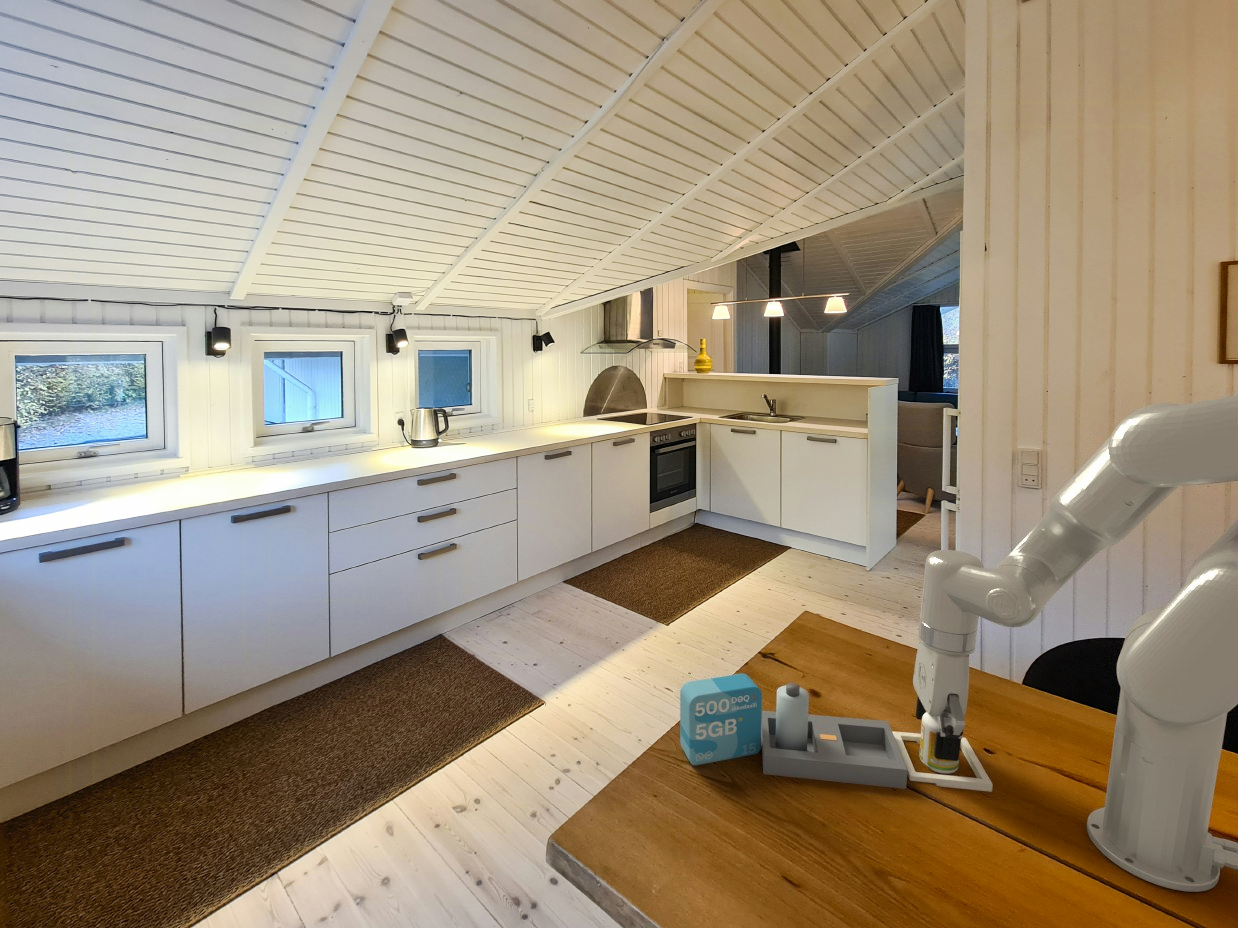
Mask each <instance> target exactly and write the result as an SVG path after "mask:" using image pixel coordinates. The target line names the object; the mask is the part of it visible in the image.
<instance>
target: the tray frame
mask: <svg viewBox="0 0 1238 928" xmlns="http://www.w3.org/2000/svg"><path fill="white" fill-rule="evenodd" d="M892 733H893V735H894V738H895V740H896V743H897V745H898V748H899V750H900V753H901V755H902V758H903V760H904V763H905V765H906V768H907V778H908V779H909V781H910V782H921V783H931V784H935V786H936V787H943V788H952V789H961V790H972V791H981V792H990V793H991V792H993V782H992V781H991V779H990V777H989V775H988V774H987V773H986V770H985V769H984V767H983V765H982V763H981V762H980V760H979V758H978V756H977V755H976V754H975V752H974V749H973V748H972V746H971V745H970V743H969V741H968V739H967V738H966V737H963V736H962V739H961V744H960V751H961V752H962V754H963V755H964V757H965V759H966V760H967V762H968V764H969V766H970V768H971V769H972V771H973V773H974V775H975V777H968V776H960V775H959V776H958V775H949V774H939V773H938V774H937V773H928V772H917V771H916V770H915V767H914V765H913V763H912V760H911V758H910V755H909V753H908V750H907V749H906V745H905V744H904V741H911V742H912V741H913V742H916V743H917V744H918V745H920V738H921V733H916V732H904V731H894V730H892Z"/></svg>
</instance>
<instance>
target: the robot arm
mask: <svg viewBox="0 0 1238 928" xmlns="http://www.w3.org/2000/svg"><path fill="white" fill-rule="evenodd" d="M1229 482H1238V394H1235V395H1231V396H1225V397H1220V398H1214V399H1208V400H1202V401H1201V400H1200V401H1197V402H1190V403H1184V404H1178V403H1173V402H1172V403H1170V402H1160V403H1159V402H1158V403H1153V404H1148V405H1146V406H1144V407H1141V408H1139V409H1136V410H1135V411H1134V412H1133V413H1130V414H1129V415H1127V416H1126V417H1125V418H1123V419H1122V420H1121V421H1120V422H1119V423H1118V424H1117V425H1116V426H1115V428H1114V430H1112V433H1111V435H1110V436H1109V437H1108V438H1107V439H1106V440H1105V442H1103V443H1102V445H1100V446H1099V448H1097V450H1096V451H1095V452H1094V453H1093V454H1092V455H1091V456H1090V458H1088V460H1086V462H1085V463H1084V464H1083V465H1082V466H1081V467H1080V469H1078V470H1077V471H1076V473H1074V475H1073V476H1072V477H1071V478H1070V479H1069V480H1068V481H1067V482H1066V483H1065V484H1064V485H1063V486H1062V487H1061V488H1060V489H1059V490H1058V491H1057V493H1056V494H1055V495H1054V496H1053V498H1052V499H1051V501H1050V502H1049V505H1048V508H1047V510H1046V512H1045V513H1044V515H1043V516H1042V518H1041V519H1040V520H1039V521H1038V522H1037V524H1036V525H1035V526H1034V527H1033V528H1032V529H1031V530H1030V532H1028V534H1026V536H1024V538H1023V539H1022V540H1020V542H1019V543H1017V545H1016V547H1014V549H1012V550H1011V551H1010V552H1009V554H1008V555H1007V556H1006V557H1004V558H1003V560H1001V561H1000V562H999V563H998V564H996V566H995V567H990V568H989V567H988V568H985V567H984V563H983V562H982V560H981V559H980V558H978V557H977V556H976V555H973V554H970V553H967V552H966V551H965V552H964V551H960V550H954V549H953V550H952V549H940V550H934V551H932V552H931V553H929V554H928V555H927V557H926V559H925V564H924V574H923V583H922V594H921V606H920V614H919V615H920V616H919V623H918V634H917V640H918V645H917V651H916V655H915V656H916V657H915V663H914V672H913V677H912V684H913V685H912V686H913V688H914V691H915V692H916V695H917V698H916V709H915V717H916V719H917V720H921V721H922V717H923V715H924V714H925V713H926V712H927V713H928V714H929V715H930V716H932V717H934V716H937V718H938V726H939V732H936V739H935V749H934V756H935V758H936V759H942V760H951V761H958V760H959V761H960V755H959V753H960V754H961V752H960V751H961V748H960V744H961V739H962V737H963V735H964V731H965V730H964V729H965V728H966V720H965V716H966V713H967V706H968V699H969V688H970V687H969V683H970V655H972V654H973V653H975V651H976V644H977V643H976V642H977V636H978V627H979V618H982V619H984V620H986V621H989V622H991V623H993V624H995V625H998V626H1002V627H1006V628H1021V627H1022V628H1023V627H1024V626H1025V627H1026V626H1028V625H1029V624H1031V623H1032V622H1033V621H1035V620H1036V619H1037V617H1038V616H1039V615H1040V614H1041V612H1042V611H1043V609H1044V608H1045V606H1046V605H1047V604H1048V603H1049V601H1050V600H1051V599H1052V598H1053V597H1054V595H1056V593H1057V592H1058V591H1059V590H1060V589H1061V588H1063V586H1064V585H1065V584H1066V583H1067V582H1068V581H1069V580H1070V579H1071V578H1072V577H1074V575H1076V573H1078V572H1079V571H1080V569H1082V568H1083V567H1084V566H1085V565H1086V564H1087V563H1088V562H1090V561H1091V560H1092V559H1093V558H1094V557H1095V556H1097V554H1099V553H1101V552H1102V551H1104V550H1105V549H1107V548H1110V547H1112V546H1115V545H1117V544H1118V543H1120V542H1121V541H1122V540H1124V539H1125V538H1126V537H1127V536H1128V535H1129V534H1131V533H1132V531H1133V530H1134V529H1135V528H1136V527H1138V526H1139V525H1140V524H1141V523H1142V522H1143V521H1144V520H1145V519H1146V518H1148V516H1149V515H1150V514H1151V513H1152V512H1154V511H1155V509H1156V508H1157V507H1158V506H1160V504H1161V503H1163V502H1164V501H1165V500H1166V499H1167V498H1168V497H1169V496H1170V495H1171V494H1172V493H1173V492H1175V491H1176V490H1177V489H1178V488H1179V487H1184V486H1185V487H1187V486H1199V485H1210V484H1211V485H1212V484H1221V483H1229ZM1116 676H1117V681H1118V685H1119V686H1120V690H1119V691H1120V692H1119V697H1118V699H1119V700H1118V706H1117V713H1116V722H1115V724H1114V726H1115V727H1114V734H1113V741H1112V742H1113V743H1112V750H1111V758H1110V763H1109V764H1110V765H1109V773H1108V780H1107V788H1106V793H1105V794H1106V795H1105V802H1104V807H1099V808H1097V809H1094V810H1093V811H1092V812H1090V814H1089V815H1088V817H1087V821H1086V831H1087V834H1088V837H1089V838H1090V841H1091V842H1092V843H1093V844H1094V846H1096V848H1097V849H1098V850H1099V851H1100V852H1101V853H1102V854H1103V856H1105V857H1107V859H1109V860H1110V861H1111V862H1113V863H1114V864H1116V865H1117V866H1119V867H1120V868H1121V869H1123V870H1124V871H1126V872H1128V873H1130V874H1132V875H1133V876H1136V877H1137V878H1140V879H1142V880H1144V881H1147V882H1149V883H1152V884H1154V885H1157V886H1160V887H1163V888H1166V889H1171V890H1175V891H1181V892H1194V893H1195V892H1196V893H1199V892H1206V891H1209V890H1211V889H1213V888H1214V887H1216V885H1217V884H1218V883H1219V879H1220V875H1221V874H1220V873H1221V872H1220V871H1221V869H1223V868H1224V867H1227V868H1231V869H1234V870H1236V871H1238V842H1235V841H1232V840H1230V839H1226V838H1220V837H1217V836H1213V835H1212V834H1211V833H1210V832H1208V830H1209V825H1210V819H1211V818H1210V817H1211V811H1212V805H1213V800H1214V794H1215V787H1216V781H1217V775H1218V771H1219V763H1220V758H1221V756H1222V755H1221V754H1222V749H1223V744H1224V736H1225V730H1226V723H1227V716H1228V713H1229V712H1230V711H1232V710H1233V709H1234V708H1235V707H1236V706H1237V705H1238V518H1237V519H1235V521H1233V523H1232V524H1230V525H1229V527H1228V528H1227V529H1226V530H1225V531H1224V532H1223V533H1222V534H1221V536H1219V537H1218V538H1217V539H1216V541H1215V542H1213V544H1211V545H1210V546H1209V547H1208V548H1207V549H1206V550H1205V551H1203V552H1202V553H1201V554H1200V555H1199V556H1198V557H1197V558H1196V559H1195V560H1194V561H1193V563H1192V564H1191V567H1190V569H1189V570H1188V573H1187V577H1186V580H1185V583H1184V585H1183V586H1182V587H1181V588H1180V590H1178V592H1177V593H1176V594H1175V595H1174V597H1173V598H1172V599H1170V601H1168V603H1167V604H1166V606H1164V607H1157V608H1155V609H1152V610H1149V611H1147V612H1144V613H1143V614H1141V616H1139V617H1138V618H1137V619H1136V620H1135V621H1134V622H1133V623H1132V624H1131V626H1130V627H1129V628H1128V631H1127V634H1126V636H1125V637H1124V641H1123V644H1122V648H1121V650H1120V654H1119V656H1118V659H1117V662H1116ZM944 709H945V710H950V714H949V713H942V712H943V711H944ZM944 719H952V722H951V725H948V726H946V727H945V724H944Z"/></svg>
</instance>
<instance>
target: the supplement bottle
mask: <svg viewBox="0 0 1238 928" xmlns="http://www.w3.org/2000/svg"><path fill="white" fill-rule="evenodd" d="M942 713H949V714H950V710H945V709H944V711H943V712H942ZM951 722H952V719H944V724H945V727H946V726H948V725H951ZM936 732H939V726H938V718H937V716H934V717H932V716H930V715H929V714H928V713H927V712H926V713H925V714H924V715H923V717H922V720H921V726H920V734H921V738H920V744H919V760H920V761H921V762H922V763H923V764H924V765H925V766H926V767H927V768H928V769H929V770H931V771H933V772H936V773H938V774H939V773H940V774H943V775H949V774H952V773H956V771H958V769H959V766H960V759H959V760H958V761H951V760H942V759H936V758H935V756H934V749H935V739H936ZM960 754H961V752H960V753H959V756H960Z"/></svg>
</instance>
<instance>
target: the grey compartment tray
mask: <svg viewBox="0 0 1238 928" xmlns="http://www.w3.org/2000/svg"><path fill="white" fill-rule="evenodd" d="M892 731H893V730H892V728H891V726H890V723H889V721H888V720H880V719H879V720H878V719H877V720H876V719H866V718H853V717H841V716H830V715H819V714H809V713H808V736H807V751H797V750H786V749H776V748H775V743H776V711H773V710H772V711H771V710H762V724H761V755H762V770H763V771H762V773H763V775H769V776H770V775H771V776H778V777H779V776H781V777H789V778H799V779H808V780H817V781H818V780H819V781H829V782H838V783H846V784H856V785H857V784H858V785H865V786H874V787H875V786H876V787H885V788H895V789H904V790H905V789H907V780H908V774H907V768H906V765H905V763H904V760H903V758H902V755H901V753H900V750H899V748H898V745H897V743H896V740H895V738H894V735H893V733H892Z"/></svg>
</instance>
